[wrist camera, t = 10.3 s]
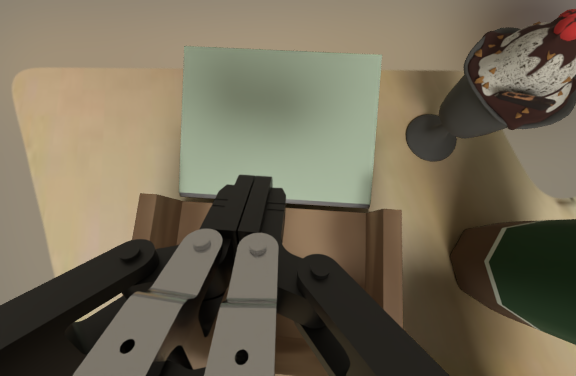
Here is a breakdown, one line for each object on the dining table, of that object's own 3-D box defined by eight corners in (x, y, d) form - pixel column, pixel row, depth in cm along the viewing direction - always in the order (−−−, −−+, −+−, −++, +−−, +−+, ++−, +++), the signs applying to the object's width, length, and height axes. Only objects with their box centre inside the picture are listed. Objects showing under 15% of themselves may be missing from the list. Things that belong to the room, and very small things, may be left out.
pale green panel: (363, 206, 22) (374, 65, 21) (369, 209, 20) (381, 54, 19) (188, 195, 22) (193, 56, 22) (178, 197, 21) (184, 45, 20)
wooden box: (369, 216, 23) (408, 208, 15) (368, 343, 21) (411, 410, 14) (184, 204, 24) (130, 191, 16) (167, 327, 22) (96, 381, 14)
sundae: (439, 96, 25) (645, -93, 11) (477, 151, 24) (765, 27, 9) (384, 123, 25) (518, -32, 10) (420, 181, 24) (628, 100, 9)
